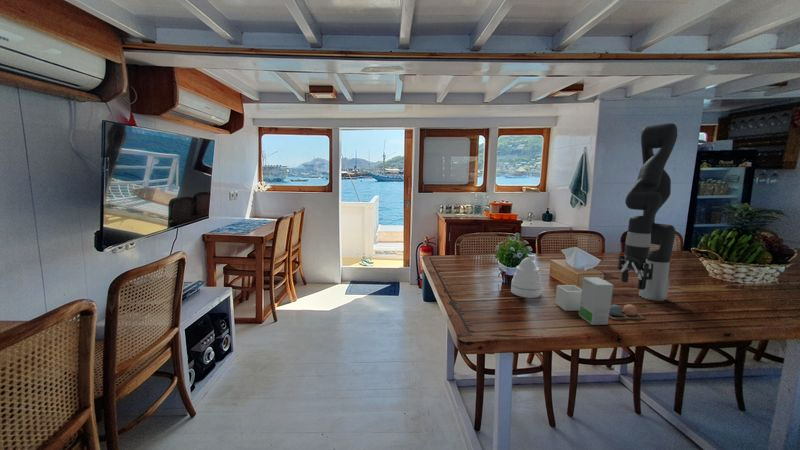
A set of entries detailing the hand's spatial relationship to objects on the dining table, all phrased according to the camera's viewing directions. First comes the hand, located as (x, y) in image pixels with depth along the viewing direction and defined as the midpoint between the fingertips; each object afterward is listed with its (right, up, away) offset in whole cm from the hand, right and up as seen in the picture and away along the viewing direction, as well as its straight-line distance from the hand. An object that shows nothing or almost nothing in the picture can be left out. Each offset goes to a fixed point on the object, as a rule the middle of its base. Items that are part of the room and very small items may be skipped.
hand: (632, 285), depth 125 cm
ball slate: (-6, -12, +2) cm, 13 cm away
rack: (-3, -12, +2) cm, 12 cm away
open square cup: (-19, -11, +10) cm, 24 cm away
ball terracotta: (0, -12, +2) cm, 12 cm away
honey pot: (-31, -8, +26) cm, 41 cm away
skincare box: (-16, -13, -2) cm, 21 cm away
